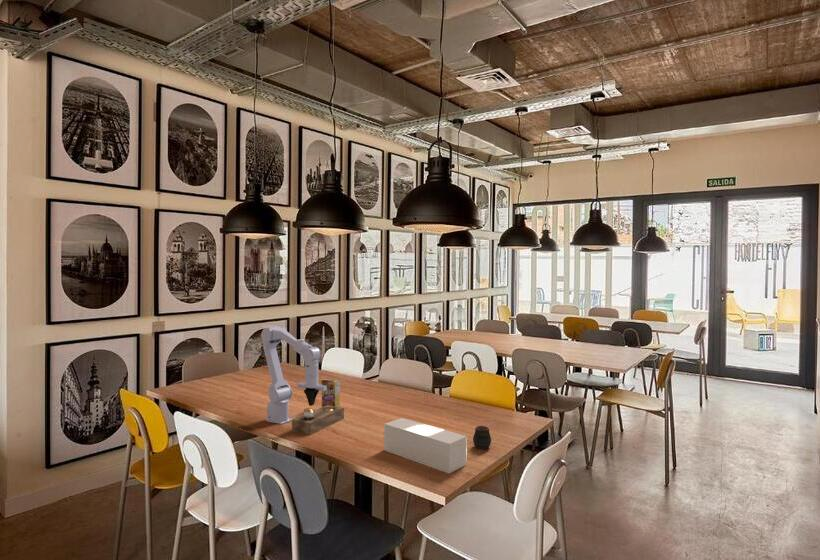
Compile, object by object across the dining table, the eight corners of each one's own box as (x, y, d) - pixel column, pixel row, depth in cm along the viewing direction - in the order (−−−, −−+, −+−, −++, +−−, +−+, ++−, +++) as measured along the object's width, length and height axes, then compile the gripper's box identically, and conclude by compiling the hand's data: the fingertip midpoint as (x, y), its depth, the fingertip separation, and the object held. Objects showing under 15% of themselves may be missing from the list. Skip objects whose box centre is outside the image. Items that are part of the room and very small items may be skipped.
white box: (466, 465, 176) (466, 436, 176) (449, 474, 168) (449, 443, 168) (402, 443, 197) (402, 417, 197) (383, 450, 189) (384, 423, 189)
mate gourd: (489, 443, 197) (489, 420, 197) (492, 451, 190) (493, 426, 190) (471, 443, 197) (472, 419, 197) (474, 451, 190) (475, 426, 189)
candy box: (320, 409, 243) (321, 379, 243) (326, 407, 247) (326, 377, 247) (334, 412, 239) (335, 381, 239) (340, 409, 243) (340, 379, 242)
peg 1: (301, 420, 211) (302, 409, 211) (307, 417, 214) (307, 407, 214) (309, 421, 209) (309, 411, 209) (314, 418, 213) (314, 408, 213)
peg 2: (323, 419, 225) (323, 409, 225) (328, 417, 229) (328, 407, 229) (330, 420, 224) (330, 411, 224) (335, 418, 227) (335, 408, 227)
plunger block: (291, 431, 210) (292, 419, 209) (326, 415, 233) (326, 405, 233) (310, 434, 205) (310, 423, 205) (344, 418, 229) (344, 407, 229)
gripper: (330, 374, 214) (330, 404, 214) (304, 371, 220) (303, 400, 220) (321, 377, 208) (321, 408, 208) (294, 374, 214) (294, 404, 214)
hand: (311, 405), depth 214 cm, fingers closed
